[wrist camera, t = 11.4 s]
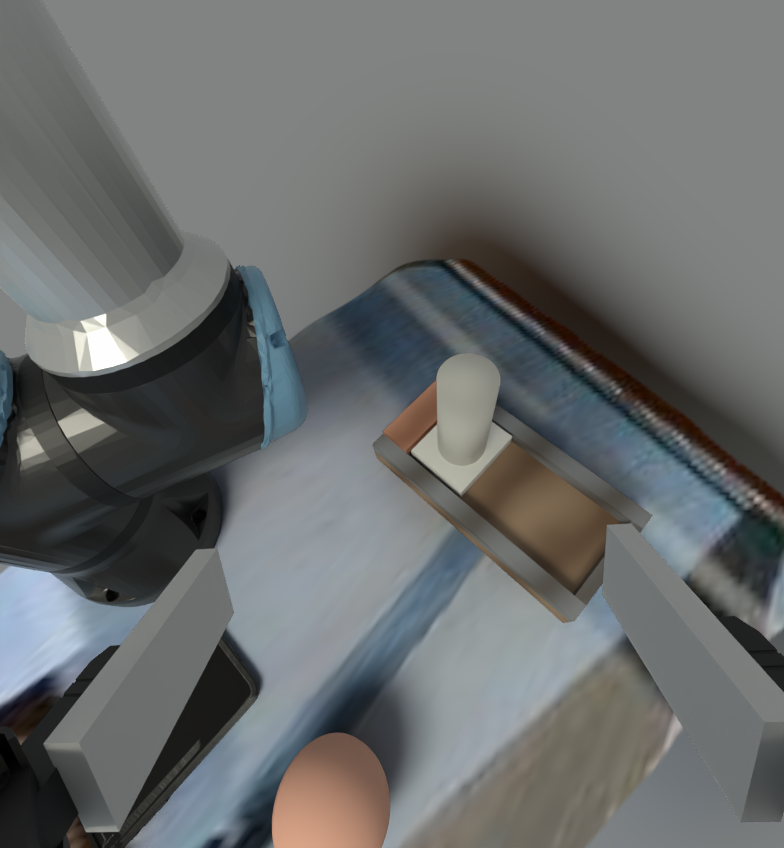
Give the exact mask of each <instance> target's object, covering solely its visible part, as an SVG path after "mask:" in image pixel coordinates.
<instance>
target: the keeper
mask: <svg viewBox="0 0 784 848" xmlns="http://www.w3.org/2000/svg"><path fill="white" fill-rule="evenodd" d="M500 382H501V379H500V373H499V371H498V369H497V367H496V366H495V365H494V363H493V362H492V361H490V360H489V359H487V358H486V357H484V356H481V355H478V354H474V353H463V354H458V355H455V356H453V357H451V358H449V359H447V360H446V361H445V362H444V363H443V364H442V365H441V367H440V368H439V370H438V373H437V425H436V426H435V427H434V428H433V429H432V430H431V431H430V432H429V433H428V434H427V435H426V436H425V437H424V438H423V439H422V440H421V441H420V442H419V443H418V444H417V445H416V446H415V447H414V448H413V449H412V450H411V453H412V457H413V458H414V459H415V460H417V461H418V462H419V463H420V464H421V465H423V466H424V467H425V468H426V469H427V470H428V471H430V472H431V473H432V474H433V475H434V476H436V477H437V478H438V479H439V480H440V481H441V482H443V483H444V484H445V485H446V486H447V487H449V488H450V489H451V490H452V491H453V492H454V493H456V494H457V495H458V496H459V497H460V498H461V497H462V496H463V495H464V493H465V492H466V491H467V490H468V489H469V488H470V487H471V486H472V485H473V484H474V482H475V481H476V480H477V479H478V478H479V477H480V476H481V475H482V474H483V473H484V471H485V470H486V469H487V468H488V467H489V466H490V465H491V464H492V463H493V462H494V461H495V459H496V458H497V457H498V456H499V455H500V454H501V453H502V452H503V451H504V450H505V448H506V447H507V446H508V445H509V444H510V442H511V440H512V436H511V435H510V434H508V433H507V432H505V431H504V430H503V429H501V428H500V427H499V426H497V425H496V424H495V423H493V422H492V418H493V414H494V409H495V405H496V401H497V396H498V392H499V387H500Z"/></svg>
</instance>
